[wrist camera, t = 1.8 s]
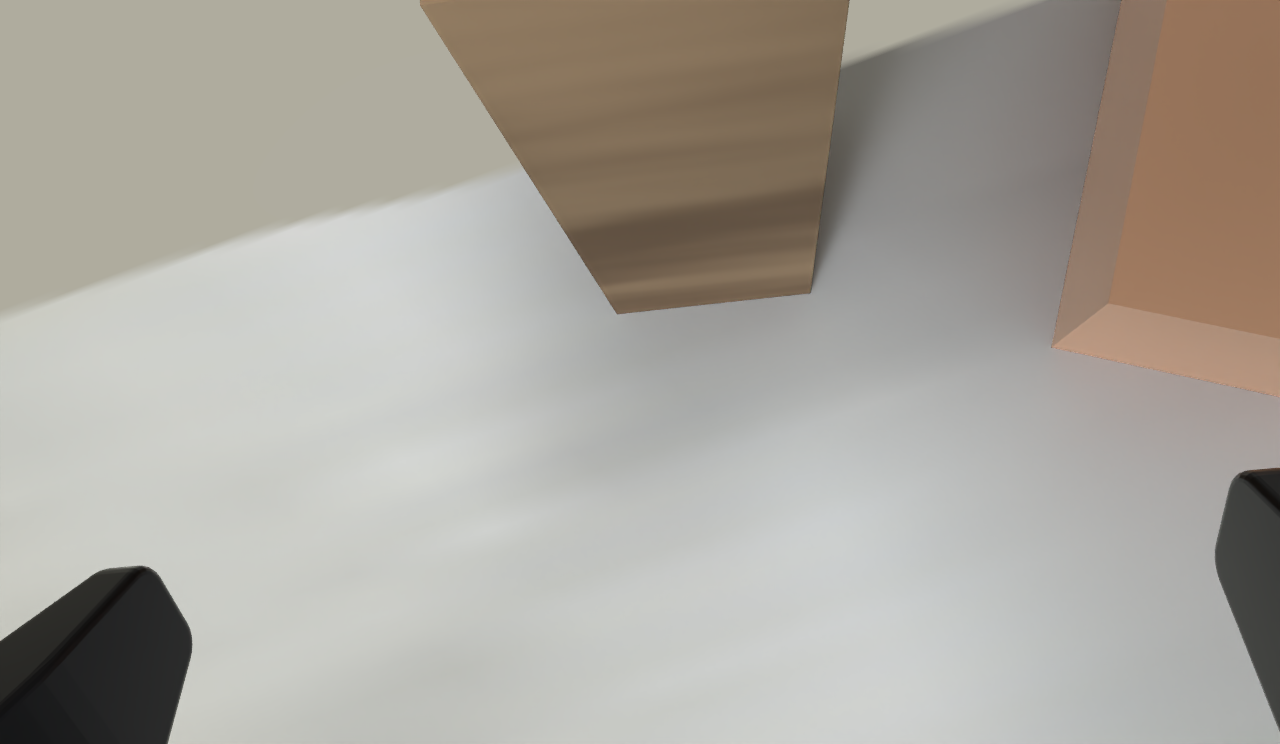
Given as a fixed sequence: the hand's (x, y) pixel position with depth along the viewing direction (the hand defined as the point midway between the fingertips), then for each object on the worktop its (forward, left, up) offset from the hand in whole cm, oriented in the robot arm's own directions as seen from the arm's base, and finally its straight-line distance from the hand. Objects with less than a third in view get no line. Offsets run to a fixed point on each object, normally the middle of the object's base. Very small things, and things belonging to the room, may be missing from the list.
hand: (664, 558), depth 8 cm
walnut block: (+5, -6, -14) cm, 16 cm away
